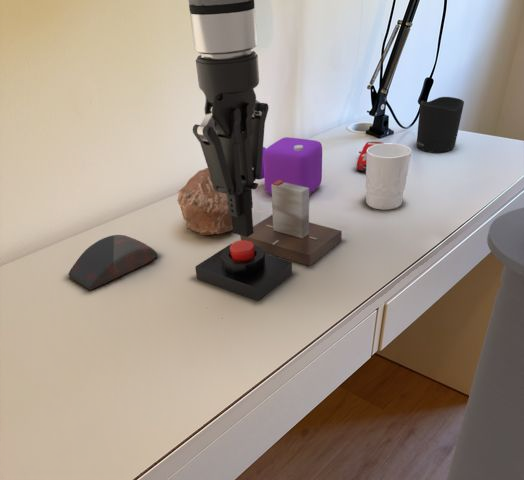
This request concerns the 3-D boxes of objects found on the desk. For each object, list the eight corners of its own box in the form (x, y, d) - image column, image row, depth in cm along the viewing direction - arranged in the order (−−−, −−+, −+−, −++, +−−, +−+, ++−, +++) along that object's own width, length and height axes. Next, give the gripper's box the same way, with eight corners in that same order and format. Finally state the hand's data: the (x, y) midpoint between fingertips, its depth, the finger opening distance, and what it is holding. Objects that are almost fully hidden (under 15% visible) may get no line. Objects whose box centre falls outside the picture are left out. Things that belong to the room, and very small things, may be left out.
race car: (379, 175, 113) (381, 156, 110) (354, 173, 114) (355, 155, 112) (387, 154, 122) (389, 136, 120) (364, 153, 124) (365, 135, 121)
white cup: (376, 214, 97) (381, 160, 91) (355, 199, 103) (358, 147, 97) (413, 206, 100) (420, 152, 93) (389, 191, 105) (395, 140, 99)
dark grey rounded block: (163, 259, 88) (159, 237, 86) (92, 293, 81) (85, 270, 78) (135, 245, 93) (130, 224, 90) (66, 276, 85) (58, 254, 83)
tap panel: (341, 241, 90) (342, 229, 89) (309, 266, 84) (309, 254, 82) (275, 223, 97) (274, 212, 96) (240, 245, 91) (239, 233, 89)
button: (259, 254, 80) (258, 243, 79) (244, 264, 78) (244, 253, 77) (240, 248, 82) (240, 238, 81) (226, 258, 80) (225, 247, 79)
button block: (292, 274, 82) (292, 251, 80) (257, 301, 77) (256, 277, 74) (232, 255, 88) (230, 233, 86) (196, 278, 83) (193, 256, 80)
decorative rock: (192, 211, 103) (185, 159, 97) (249, 212, 101) (245, 160, 95) (173, 242, 93) (164, 187, 87) (235, 244, 91) (230, 188, 85)
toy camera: (262, 178, 115) (260, 130, 108) (324, 182, 111) (325, 133, 105) (246, 197, 107) (243, 147, 100) (312, 203, 103) (312, 151, 97)
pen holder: (416, 140, 129) (422, 96, 123) (456, 141, 127) (464, 97, 121) (412, 152, 123) (418, 106, 116) (455, 154, 120) (463, 108, 114)
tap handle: (309, 234, 88) (309, 186, 83) (302, 238, 87) (302, 190, 82) (279, 226, 91) (278, 179, 86) (273, 230, 90) (271, 183, 85)
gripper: (235, 41, 69) (249, 211, 84) (165, 61, 61) (194, 245, 76) (282, 43, 65) (289, 221, 80) (214, 65, 57) (235, 258, 72)
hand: (243, 232), depth 78 cm, fingers closed
